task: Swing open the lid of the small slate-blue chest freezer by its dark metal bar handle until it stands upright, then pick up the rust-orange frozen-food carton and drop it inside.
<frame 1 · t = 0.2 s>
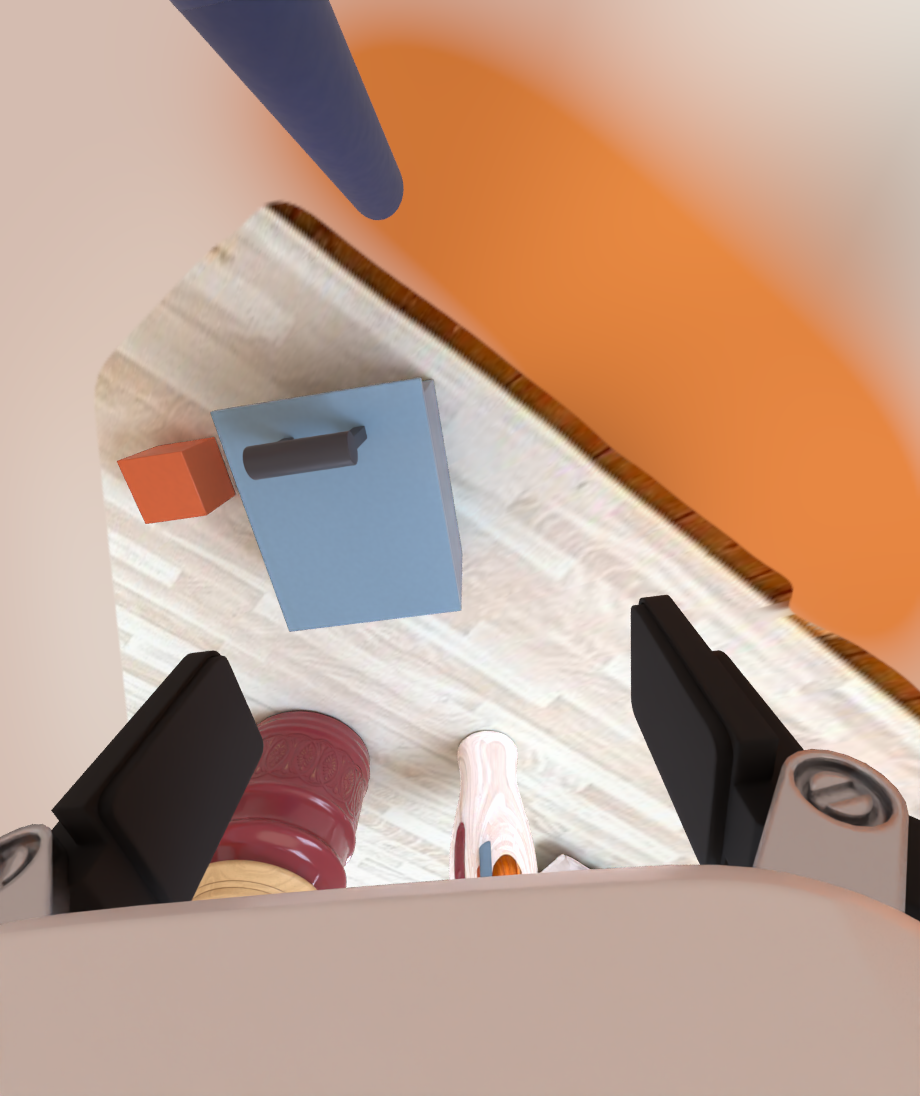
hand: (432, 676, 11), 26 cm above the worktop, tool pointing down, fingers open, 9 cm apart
carton: (197, 470, 36), on the worktop
freezer lid: (338, 533, 26), point 11 cm above the worktop, hinge at 0.0°
freezer: (373, 484, 36), on the worktop
frozen beans: (580, 911, 59), on the worktop
kitchen canister: (309, 754, 48), on the worktop
beer glass: (487, 750, 48), on the worktop
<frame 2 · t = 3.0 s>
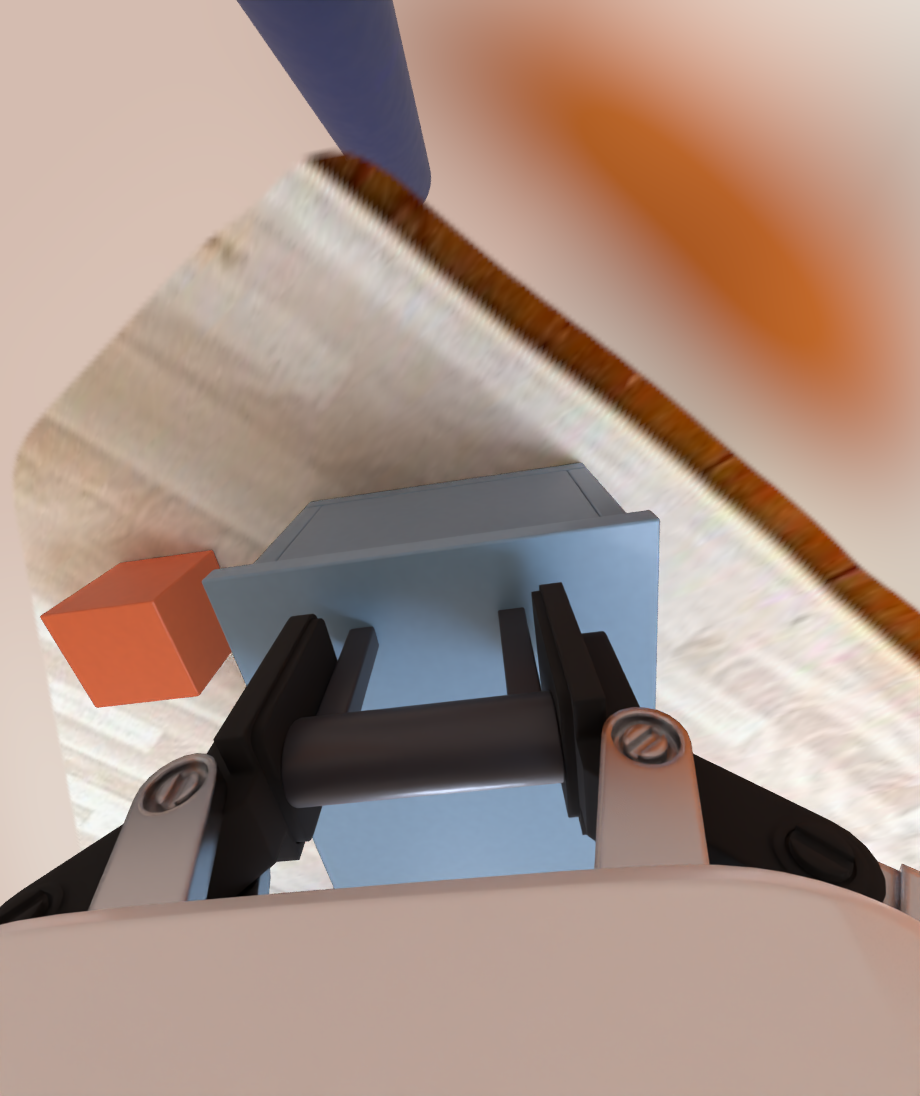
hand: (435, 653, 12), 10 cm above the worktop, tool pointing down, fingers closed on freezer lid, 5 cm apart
carton: (185, 598, 22), on the worktop
freezer lid: (464, 822, 13), point 11 cm above the worktop, hinge at 0.0°, touching gripper
freezer: (466, 618, 23), on the worktop
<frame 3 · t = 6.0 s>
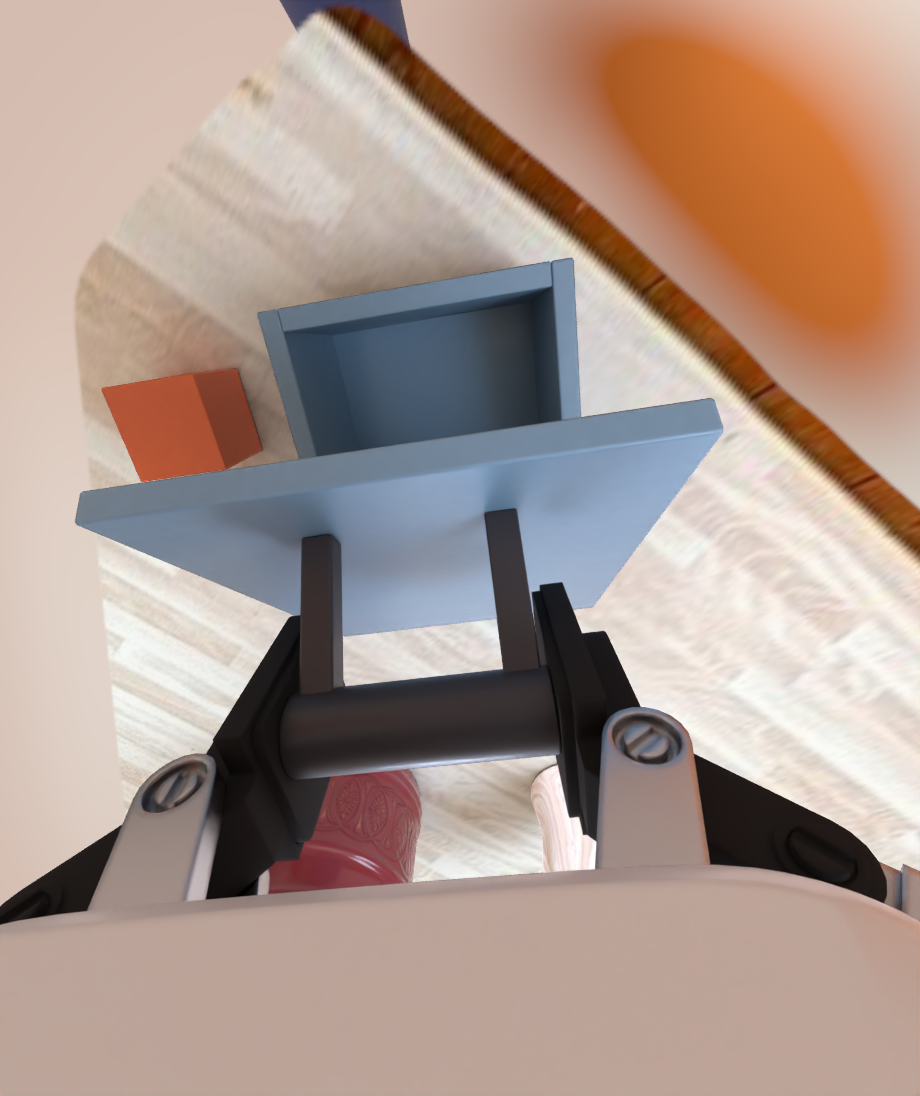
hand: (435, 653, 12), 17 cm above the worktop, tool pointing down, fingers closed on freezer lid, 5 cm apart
carton: (212, 416, 26), on the worktop
freezer lid: (448, 648, 14), point 15 cm above the worktop, hinge at 47.4°, touching gripper
freezer: (449, 435, 27), on the worktop
kitchen canister: (344, 790, 38), on the worktop
beer glass: (567, 787, 38), on the worktop
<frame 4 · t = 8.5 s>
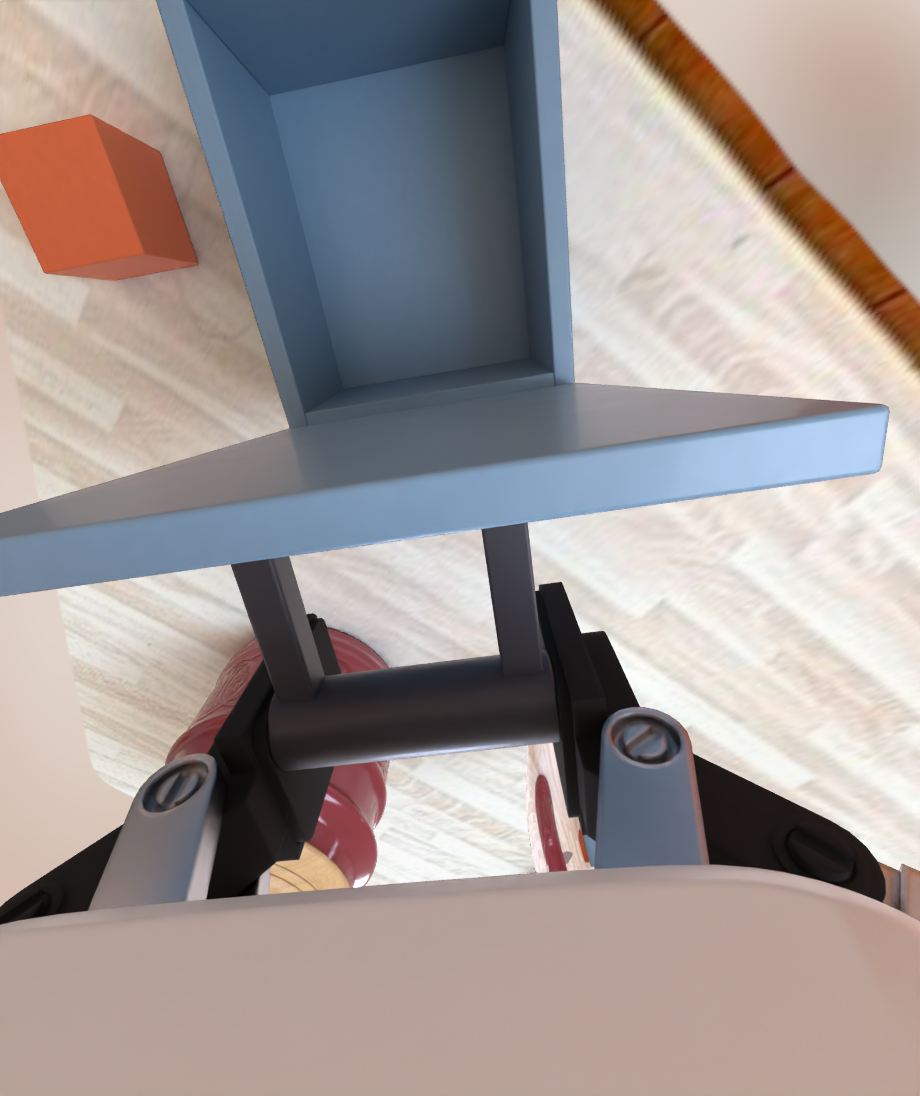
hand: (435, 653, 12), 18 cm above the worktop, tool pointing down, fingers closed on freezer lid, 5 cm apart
carton: (136, 219, 23), on the worktop
freezer lid: (423, 528, 13), point 16 cm above the worktop, hinge at 83.8°, touching gripper
freezer: (414, 242, 23), on the worktop
kitchen canister: (316, 689, 36), on the worktop
beer glass: (555, 681, 35), on the worktop
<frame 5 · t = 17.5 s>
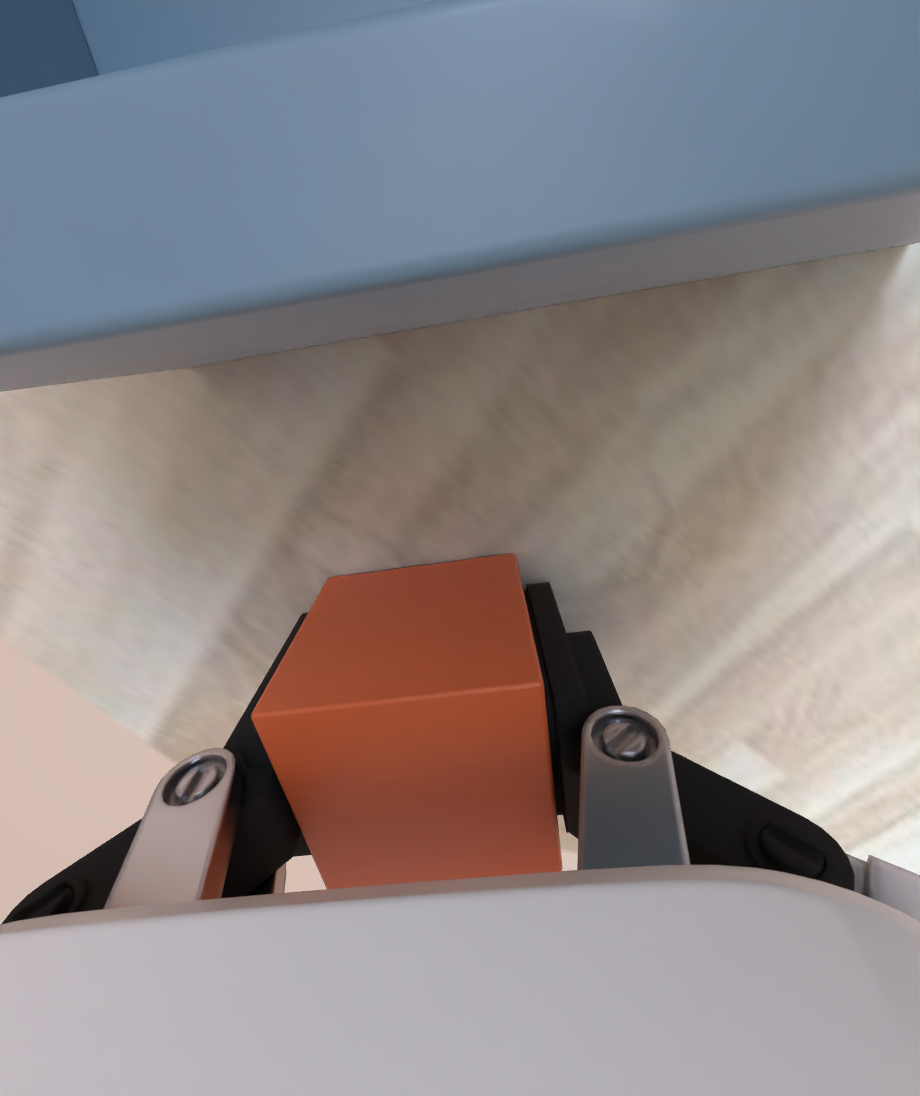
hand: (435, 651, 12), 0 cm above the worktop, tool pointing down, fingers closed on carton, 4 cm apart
carton: (436, 642, 12), on the worktop, touching gripper
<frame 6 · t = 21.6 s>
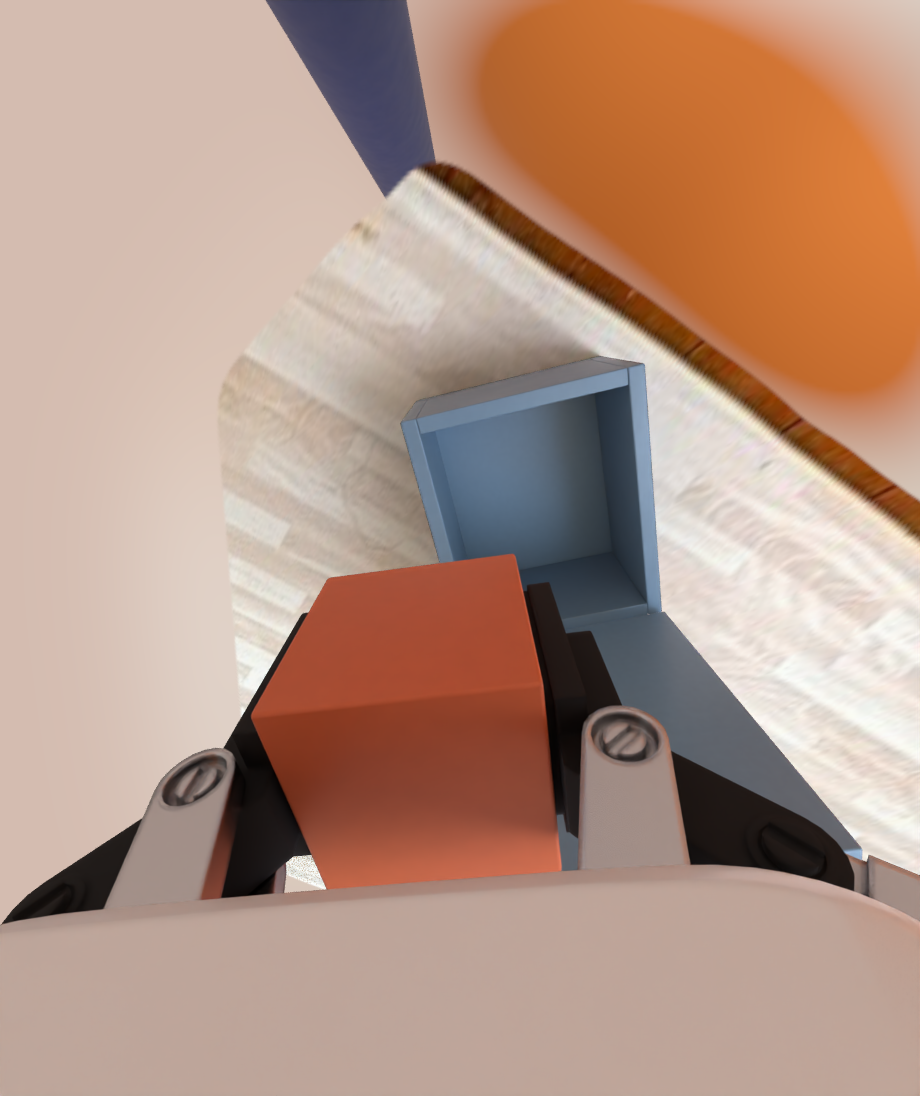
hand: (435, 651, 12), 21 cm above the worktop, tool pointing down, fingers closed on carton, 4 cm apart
carton: (435, 642, 12), point 21 cm above the worktop, touching gripper
freezer lid: (597, 762, 21), point 16 cm above the worktop, hinge at 84.0°
freezer: (525, 482, 32), on the worktop
when the fingers open (6 cm above the worktop, at t = 25.9 s): carton drops 2 cm, point 4 cm above the worktop.
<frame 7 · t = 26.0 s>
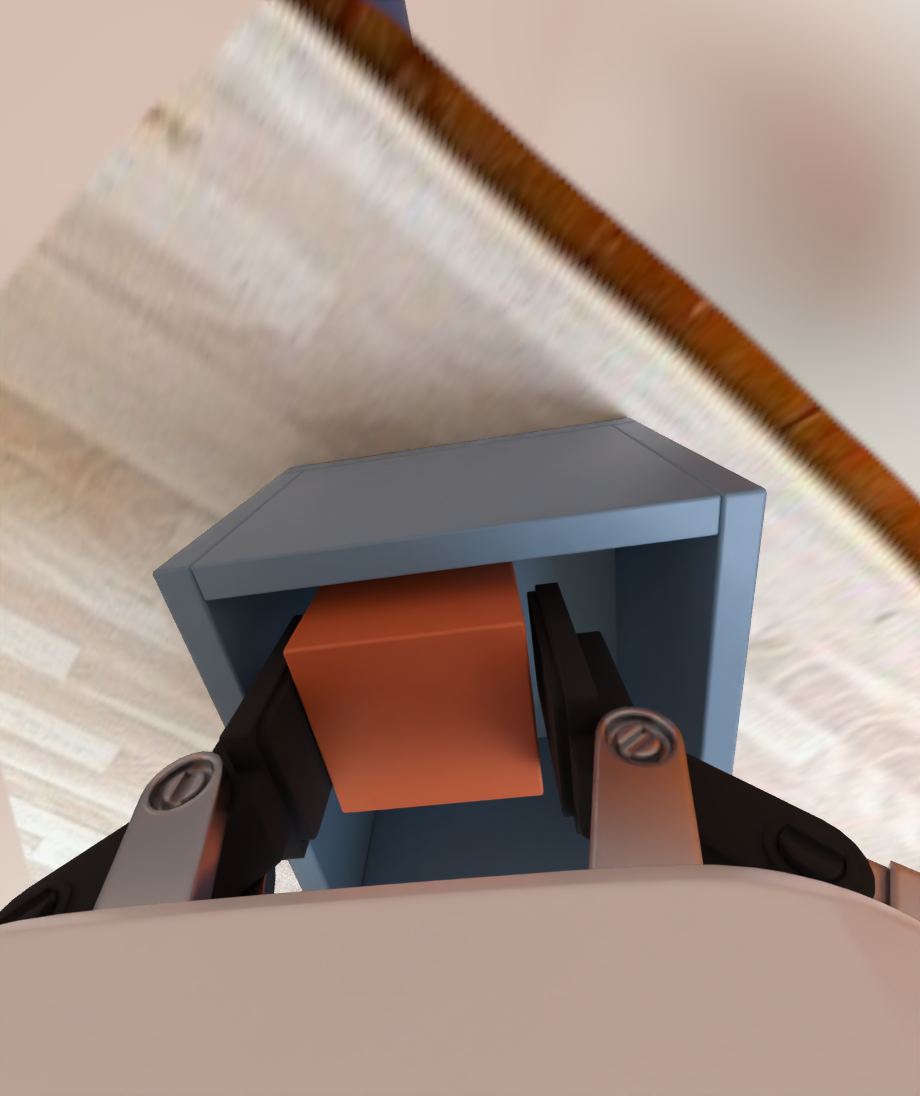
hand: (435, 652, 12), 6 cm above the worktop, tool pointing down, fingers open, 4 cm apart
carton: (436, 609, 14), point 4 cm above the worktop
freezer: (481, 613, 19), on the worktop
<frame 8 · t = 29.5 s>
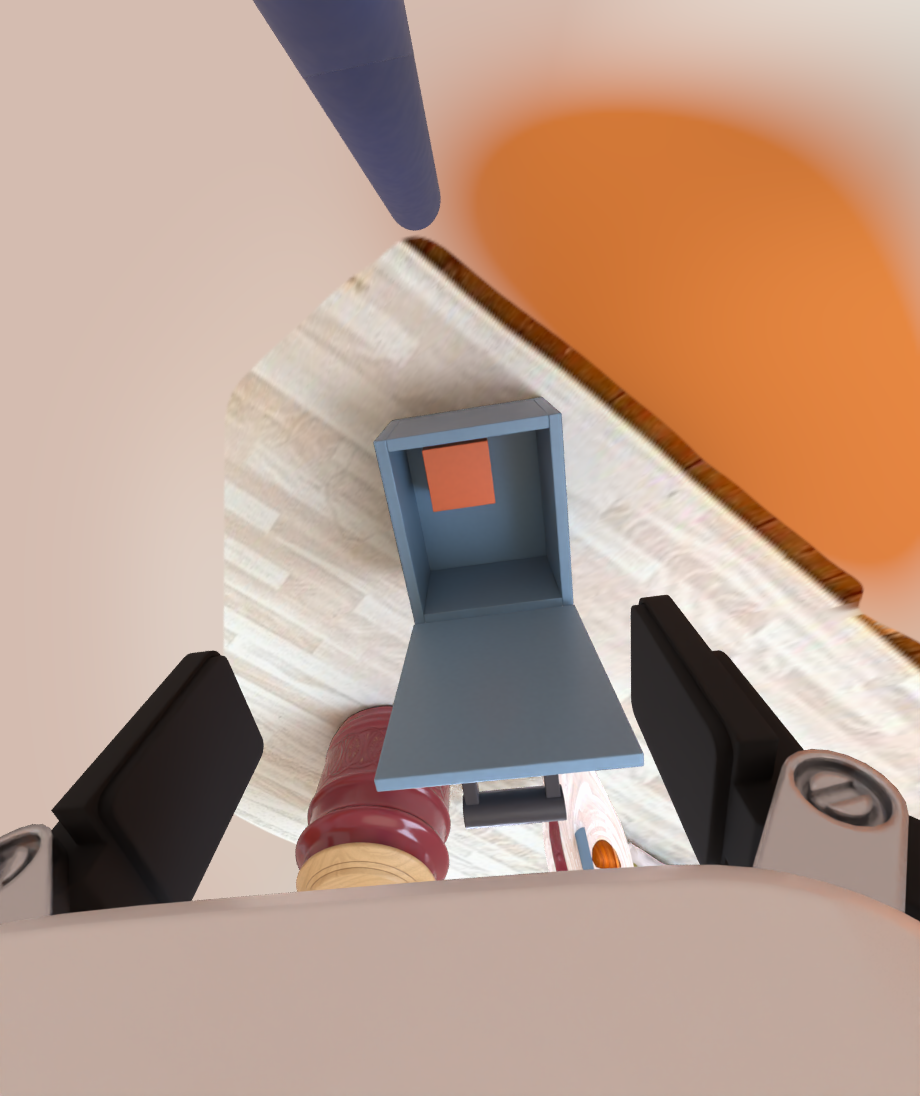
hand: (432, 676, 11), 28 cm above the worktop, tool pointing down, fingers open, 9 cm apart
carton: (460, 461, 37), point 1 cm above the worktop, touching freezer
freezer lid: (503, 711, 28), point 16 cm above the worktop, hinge at 84.0°
freezer: (478, 493, 39), on the worktop
frozen beans: (638, 899, 61), on the worktop
kitchen canister: (392, 747, 51), on the worktop
beer glass: (561, 744, 50), on the worktop
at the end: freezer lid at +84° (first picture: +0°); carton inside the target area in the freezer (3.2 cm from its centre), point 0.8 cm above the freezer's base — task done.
